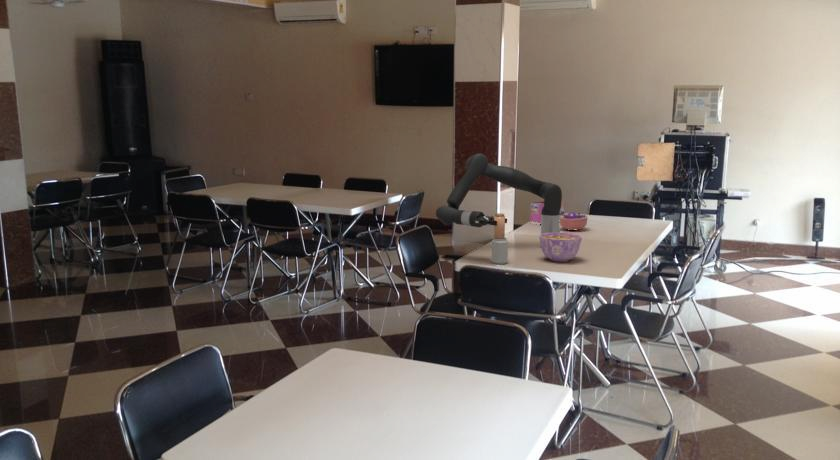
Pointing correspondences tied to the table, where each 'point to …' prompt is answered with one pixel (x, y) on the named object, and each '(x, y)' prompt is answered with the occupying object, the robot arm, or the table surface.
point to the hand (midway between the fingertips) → (501, 222)
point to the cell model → (573, 221)
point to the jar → (499, 226)
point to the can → (499, 250)
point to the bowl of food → (560, 245)
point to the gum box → (537, 209)
